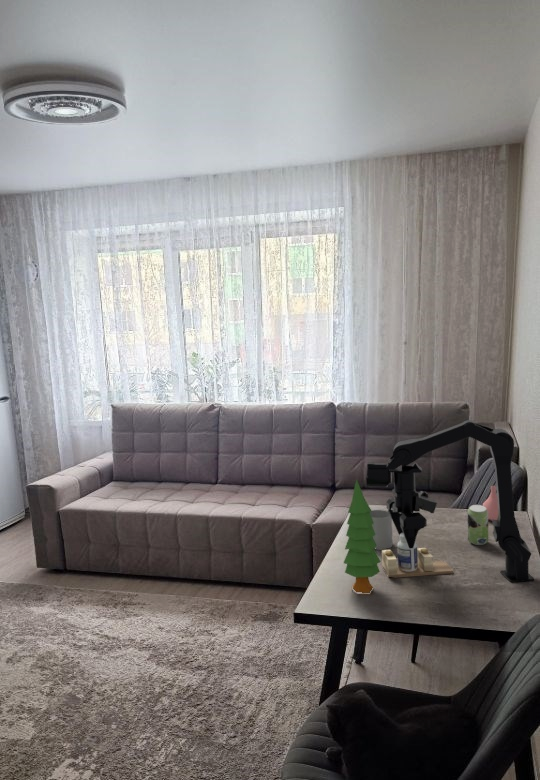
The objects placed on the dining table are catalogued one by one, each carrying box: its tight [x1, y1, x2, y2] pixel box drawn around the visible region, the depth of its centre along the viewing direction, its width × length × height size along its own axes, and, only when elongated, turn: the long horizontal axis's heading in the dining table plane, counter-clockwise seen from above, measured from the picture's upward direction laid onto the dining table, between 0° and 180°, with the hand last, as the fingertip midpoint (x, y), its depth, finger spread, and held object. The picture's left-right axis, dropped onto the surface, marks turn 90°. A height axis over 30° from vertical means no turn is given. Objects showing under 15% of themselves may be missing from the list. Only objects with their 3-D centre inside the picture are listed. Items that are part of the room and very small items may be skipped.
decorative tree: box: [343, 479, 382, 593], centre depth 148 cm, size 10×9×30 cm
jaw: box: [417, 547, 434, 571], centre depth 159 cm, size 7×2×5 cm, turn 3°
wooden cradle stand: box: [381, 549, 454, 578], centre depth 159 cm, size 7×18×6 cm, turn 93°
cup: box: [369, 509, 394, 550], centre depth 180 cm, size 8×8×10 cm
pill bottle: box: [396, 533, 418, 572], centre depth 159 cm, size 5×5×10 cm
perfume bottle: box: [482, 485, 499, 522], centre depth 197 cm, size 8×8×12 cm
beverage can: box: [467, 504, 489, 546], centre depth 176 cm, size 6×7×12 cm
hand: (406, 542), depth 159 cm, fingers open, 9 cm apart
